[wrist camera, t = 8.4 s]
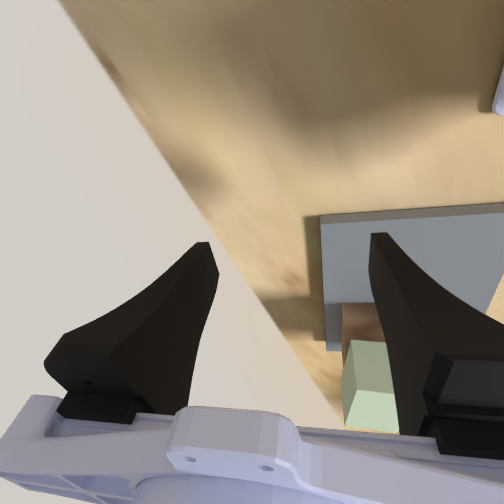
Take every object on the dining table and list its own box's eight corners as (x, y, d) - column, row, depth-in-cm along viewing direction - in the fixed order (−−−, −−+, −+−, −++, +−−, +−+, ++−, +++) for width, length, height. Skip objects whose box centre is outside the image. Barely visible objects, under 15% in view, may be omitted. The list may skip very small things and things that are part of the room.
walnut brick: (389, 302, 26) (400, 342, 23) (383, 343, 30) (392, 383, 27) (341, 302, 27) (345, 341, 24) (341, 342, 31) (344, 380, 27)
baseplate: (521, 201, 20) (531, 210, 19) (461, 344, 30) (466, 354, 29) (320, 215, 23) (320, 224, 22) (325, 341, 33) (326, 350, 32)
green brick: (405, 344, 23) (420, 397, 20) (387, 384, 27) (397, 433, 24) (351, 339, 24) (357, 389, 21) (340, 378, 27) (344, 426, 24)
